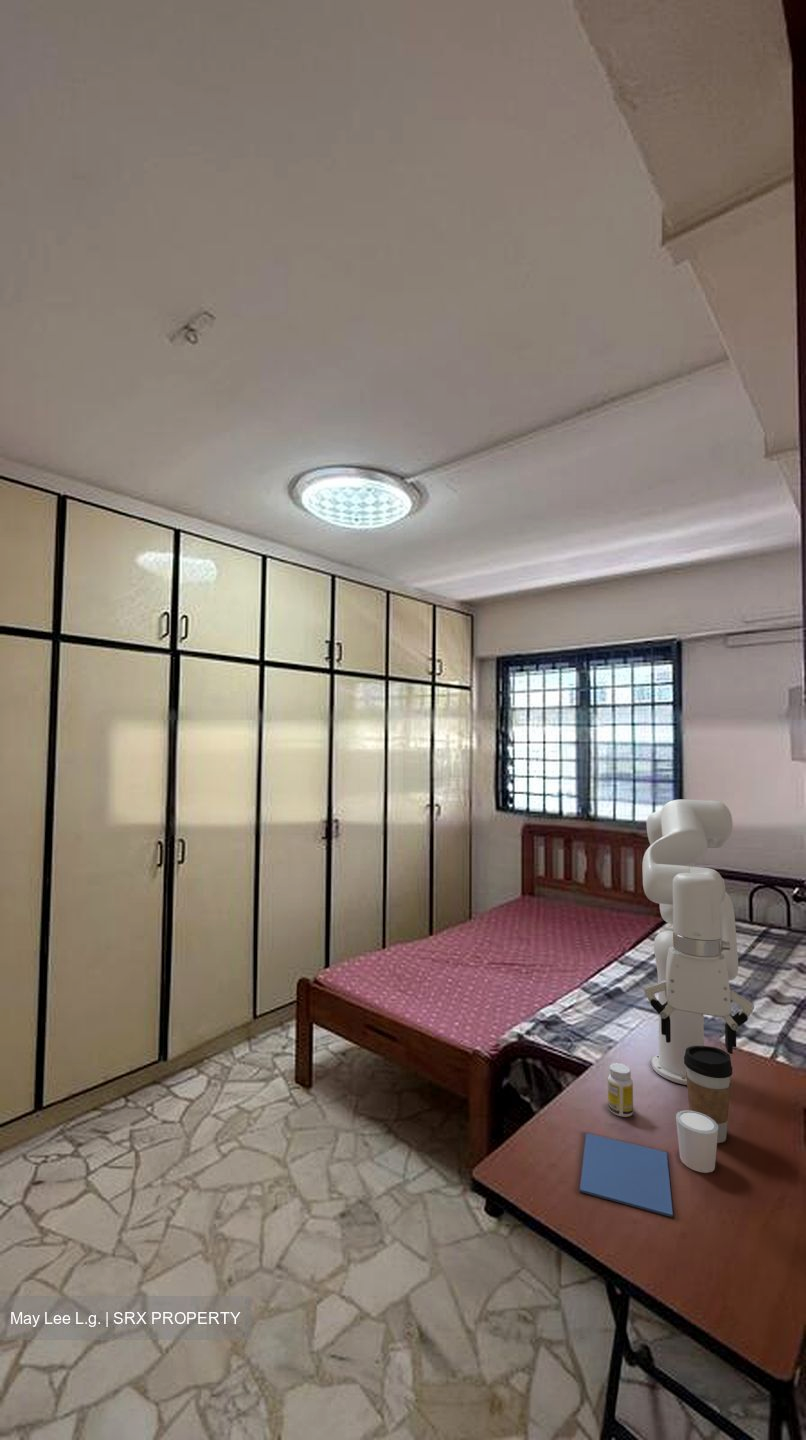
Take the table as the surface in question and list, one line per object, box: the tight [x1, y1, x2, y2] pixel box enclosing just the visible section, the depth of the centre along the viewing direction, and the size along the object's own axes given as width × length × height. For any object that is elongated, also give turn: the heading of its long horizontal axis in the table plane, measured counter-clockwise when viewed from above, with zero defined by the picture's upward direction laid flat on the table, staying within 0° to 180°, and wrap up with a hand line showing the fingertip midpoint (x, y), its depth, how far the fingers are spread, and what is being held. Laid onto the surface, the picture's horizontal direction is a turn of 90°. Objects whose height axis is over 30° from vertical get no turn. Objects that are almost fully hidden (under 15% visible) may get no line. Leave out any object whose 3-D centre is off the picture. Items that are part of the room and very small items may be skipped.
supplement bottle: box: [607, 1062, 634, 1118], centre depth 119 cm, size 5×5×8 cm
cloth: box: [579, 1132, 674, 1218], centre depth 101 cm, size 16×14×1 cm
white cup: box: [675, 1109, 718, 1174], centre depth 104 cm, size 7×7×7 cm
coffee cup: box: [684, 1045, 733, 1144], centre depth 113 cm, size 8×8×15 cm
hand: (697, 1044), depth 102 cm, fingers open, 9 cm apart
